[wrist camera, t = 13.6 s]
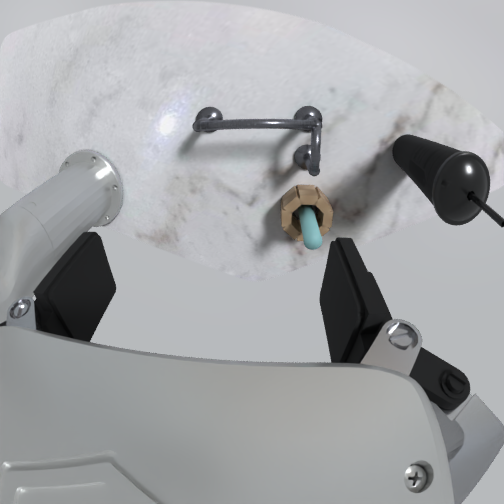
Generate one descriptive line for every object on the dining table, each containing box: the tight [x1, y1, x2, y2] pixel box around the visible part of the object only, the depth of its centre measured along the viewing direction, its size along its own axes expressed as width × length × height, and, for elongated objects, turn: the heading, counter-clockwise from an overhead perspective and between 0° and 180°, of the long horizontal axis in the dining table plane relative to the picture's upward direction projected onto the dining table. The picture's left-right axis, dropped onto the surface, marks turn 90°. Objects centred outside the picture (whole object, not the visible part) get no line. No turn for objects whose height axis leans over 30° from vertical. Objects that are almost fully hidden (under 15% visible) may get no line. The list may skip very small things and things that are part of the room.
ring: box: [281, 185, 333, 241], centre depth 36 cm, size 6×6×4 cm
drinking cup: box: [393, 135, 504, 227], centre depth 23 cm, size 8×8×20 cm
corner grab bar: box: [193, 106, 322, 176], centre depth 30 cm, size 15×8×6 cm, turn 91°
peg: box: [294, 204, 322, 250], centre depth 33 cm, size 3×3×9 cm
